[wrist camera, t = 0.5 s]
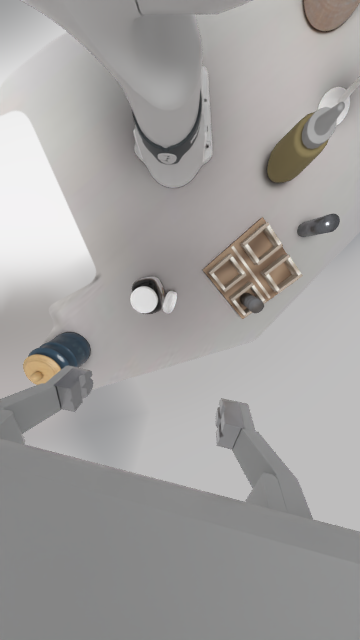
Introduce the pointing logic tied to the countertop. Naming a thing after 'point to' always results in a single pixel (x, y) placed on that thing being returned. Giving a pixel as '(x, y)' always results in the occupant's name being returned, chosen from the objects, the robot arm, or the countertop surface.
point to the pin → (319, 225)
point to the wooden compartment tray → (253, 269)
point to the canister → (56, 357)
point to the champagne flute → (339, 98)
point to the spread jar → (151, 296)
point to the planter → (329, 12)
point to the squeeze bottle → (303, 143)
